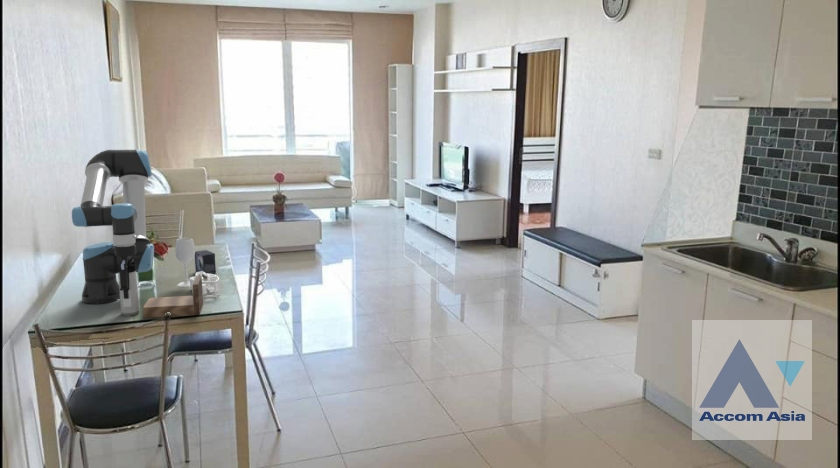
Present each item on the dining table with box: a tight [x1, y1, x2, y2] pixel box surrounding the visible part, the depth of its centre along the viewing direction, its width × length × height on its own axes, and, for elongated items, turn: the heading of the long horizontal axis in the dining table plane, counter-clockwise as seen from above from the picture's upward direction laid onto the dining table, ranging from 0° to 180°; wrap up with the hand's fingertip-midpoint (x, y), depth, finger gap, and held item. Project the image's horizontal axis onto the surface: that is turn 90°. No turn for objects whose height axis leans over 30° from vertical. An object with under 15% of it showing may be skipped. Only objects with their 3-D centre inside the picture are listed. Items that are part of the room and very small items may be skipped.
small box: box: [194, 249, 217, 277], centre depth 301 cm, size 11×6×10 cm, turn 42°
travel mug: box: [117, 262, 140, 317], centre depth 238 cm, size 6×7×20 cm
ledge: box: [142, 275, 204, 318], centre depth 243 cm, size 20×13×12 cm, turn 103°
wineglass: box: [174, 237, 196, 288], centre depth 279 cm, size 9×9×21 cm
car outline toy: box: [189, 271, 221, 299], centre depth 268 cm, size 20×11×7 cm, turn 25°
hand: (129, 303), depth 239 cm, fingers closed on travel mug, 6 cm apart
